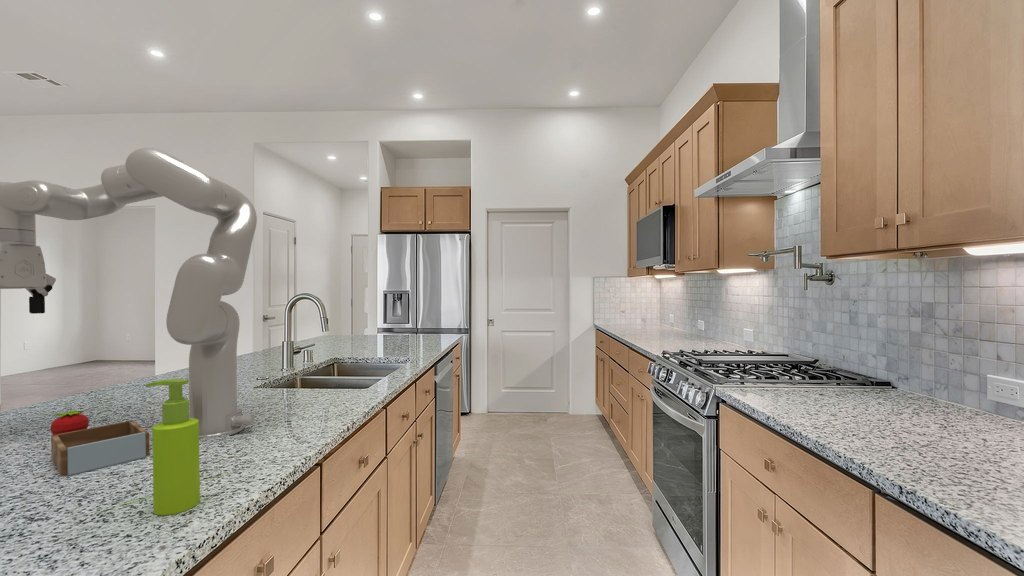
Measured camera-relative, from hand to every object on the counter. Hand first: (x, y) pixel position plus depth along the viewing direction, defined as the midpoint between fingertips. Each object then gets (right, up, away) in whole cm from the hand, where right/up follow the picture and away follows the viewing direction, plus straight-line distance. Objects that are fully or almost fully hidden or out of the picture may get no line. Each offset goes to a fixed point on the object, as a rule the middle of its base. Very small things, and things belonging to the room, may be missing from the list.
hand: (13, 314), depth 101 cm
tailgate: (+36, -28, -16) cm, 48 cm away
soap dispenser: (+59, -29, -30) cm, 72 cm away
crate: (+30, -29, -11) cm, 43 cm away
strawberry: (+17, -29, -4) cm, 34 cm away
